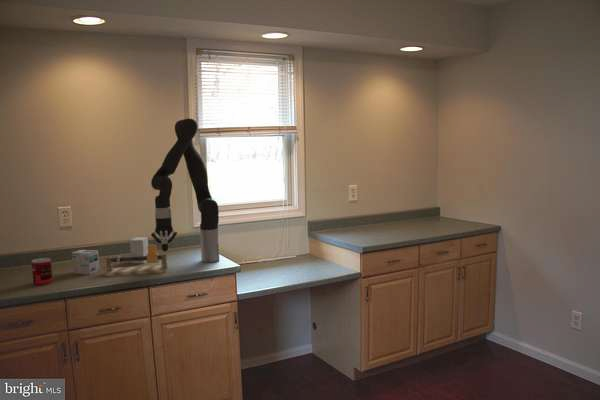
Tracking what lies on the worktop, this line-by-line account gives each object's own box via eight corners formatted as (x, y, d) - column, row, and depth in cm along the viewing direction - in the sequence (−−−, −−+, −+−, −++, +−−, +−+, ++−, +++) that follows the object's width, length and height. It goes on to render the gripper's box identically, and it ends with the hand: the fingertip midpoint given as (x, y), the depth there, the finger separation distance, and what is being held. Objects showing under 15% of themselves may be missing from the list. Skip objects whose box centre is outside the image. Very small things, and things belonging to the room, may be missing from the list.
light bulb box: (100, 271, 243) (98, 250, 242) (90, 275, 237) (88, 253, 236) (82, 270, 247) (81, 249, 246) (72, 273, 241) (71, 252, 239)
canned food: (37, 281, 228) (35, 258, 227) (55, 280, 229) (53, 257, 228) (30, 286, 221) (28, 262, 219) (48, 285, 222) (46, 261, 220)
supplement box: (149, 260, 264) (148, 237, 263) (144, 263, 257) (142, 240, 255) (136, 260, 265) (135, 237, 264) (130, 263, 258) (129, 240, 256)
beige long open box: (168, 267, 249) (167, 251, 248) (165, 272, 239) (164, 255, 238) (110, 270, 245) (109, 254, 244) (105, 276, 235) (104, 259, 234)
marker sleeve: (158, 260, 245) (157, 243, 244) (157, 262, 241) (156, 245, 240) (148, 261, 244) (147, 244, 243) (147, 263, 240) (145, 246, 239)
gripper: (177, 214, 245) (179, 248, 247) (150, 215, 243) (152, 250, 245) (176, 217, 238) (178, 252, 240) (148, 218, 236) (150, 253, 238)
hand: (165, 251), depth 243 cm, fingers closed
